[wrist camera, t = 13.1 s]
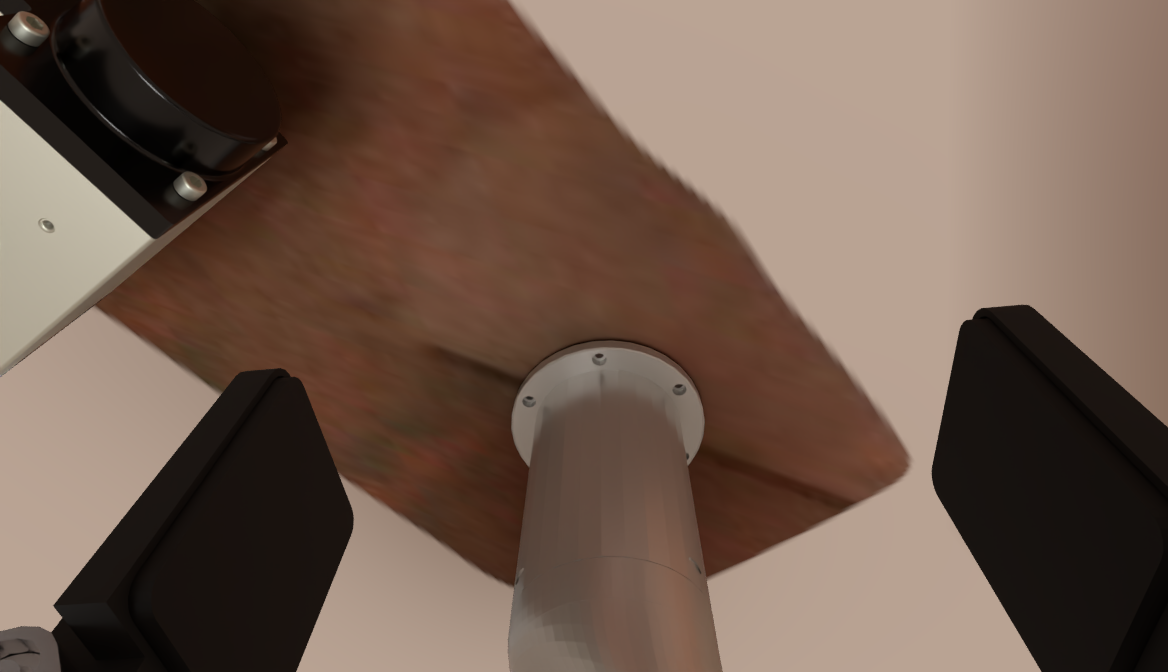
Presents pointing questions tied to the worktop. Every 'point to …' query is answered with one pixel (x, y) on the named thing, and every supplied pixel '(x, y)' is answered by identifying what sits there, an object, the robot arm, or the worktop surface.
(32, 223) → the ball valve
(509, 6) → the worktop surface
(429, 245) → the worktop surface
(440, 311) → the worktop surface
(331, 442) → the worktop surface
